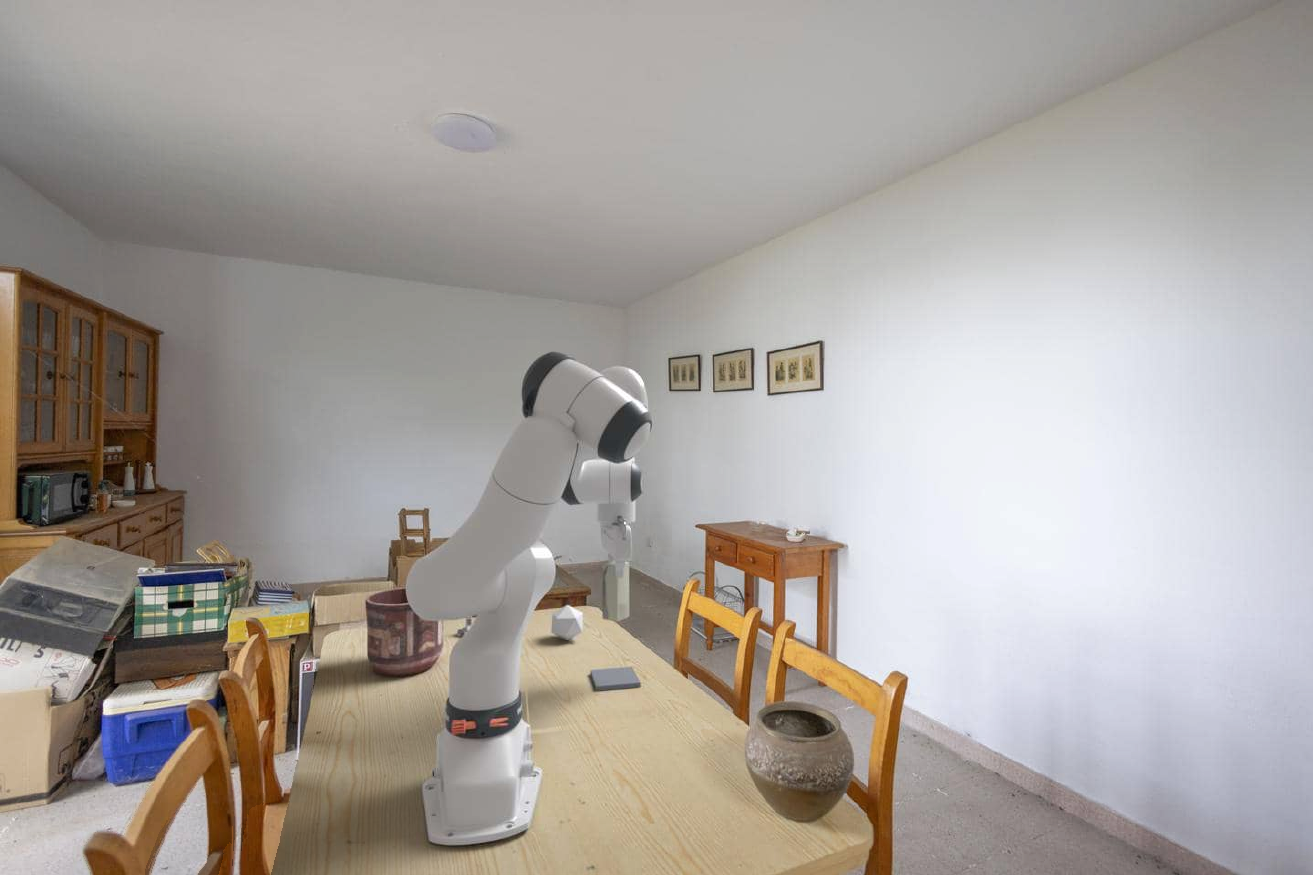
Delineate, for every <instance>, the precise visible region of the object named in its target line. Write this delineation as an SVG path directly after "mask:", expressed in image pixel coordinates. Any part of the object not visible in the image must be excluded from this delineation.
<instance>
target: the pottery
mask: <svg viewBox="0 0 1313 875" xmlns="http://www.w3.org/2000/svg"><path fill="white" fill-rule="evenodd" d="M365 613H366V629H367V633H366V634H367V637H366V638H367V640H366V641H367V642H366V644H367V647H366V652H367V653H366V654H367V658H368V661H369V663H370V666H371V668H372V669H373V671H374V672H375V673H377V674H379V675H380V676H381V675H382V676H383V677H392V678H395V677H396V678H397V677H399V678H401V677H411V676H414V675H415V676H416V675H419V674H421V673H424V672H426V671H428V670H431V668H432V667H433V666H434V665H435V664H436V663H437V661H438V660H439V658H440V657H441V655H442V652H443V650H444V621H426V620H423V619H421V618H420V617H419V616H418V615H416V613H415V612H414V611H413V610H412V608H411V607H410V605H409V603H408V600H407V596H406V587H399V588H392V589H391V588H390V589H387V590H383V591H378V592H375V593H373V594H371V595H369V596H367V597H366V599H365Z"/></svg>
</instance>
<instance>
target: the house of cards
mask: <svg viewBox="0 0 1313 875" xmlns="http://www.w3.org/2000/svg"><path fill="white" fill-rule="evenodd" d="M472 618H473V616H471V617H467V618H465V627H462V628H459V629H457V631H456V632H457V633H456V635H457V637H458V638H461V637H463V636H464V635H465V634H466V633H467V632H468V630H469V629H470V628H471V626H472V624H473V621H472V620H473V619H472Z"/></svg>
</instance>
